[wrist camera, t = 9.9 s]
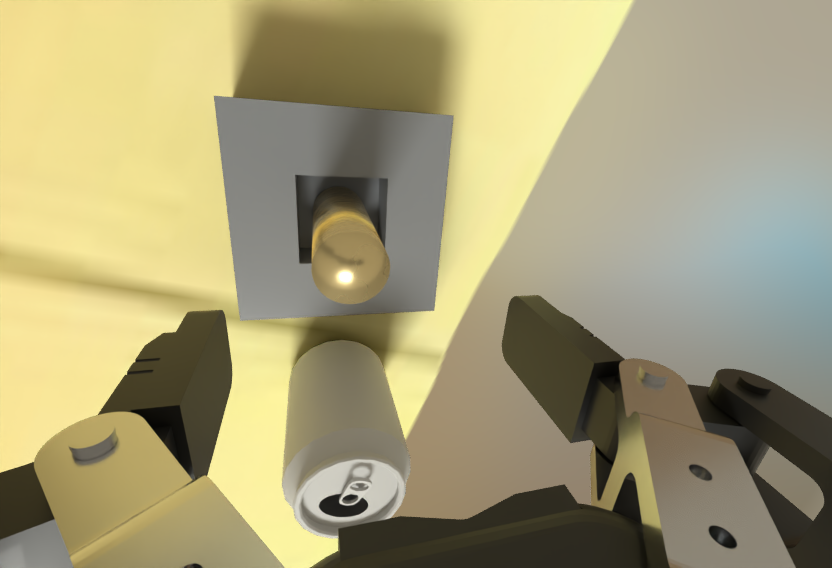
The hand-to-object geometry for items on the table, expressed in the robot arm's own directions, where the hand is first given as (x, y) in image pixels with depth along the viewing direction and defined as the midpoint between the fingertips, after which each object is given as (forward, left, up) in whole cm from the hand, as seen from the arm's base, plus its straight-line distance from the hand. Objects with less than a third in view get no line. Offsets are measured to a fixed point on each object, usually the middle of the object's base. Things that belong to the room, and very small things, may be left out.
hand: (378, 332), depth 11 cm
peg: (0, 0, -16) cm, 16 cm away
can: (+14, 0, -18) cm, 23 cm away
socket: (0, 0, -18) cm, 18 cm away
